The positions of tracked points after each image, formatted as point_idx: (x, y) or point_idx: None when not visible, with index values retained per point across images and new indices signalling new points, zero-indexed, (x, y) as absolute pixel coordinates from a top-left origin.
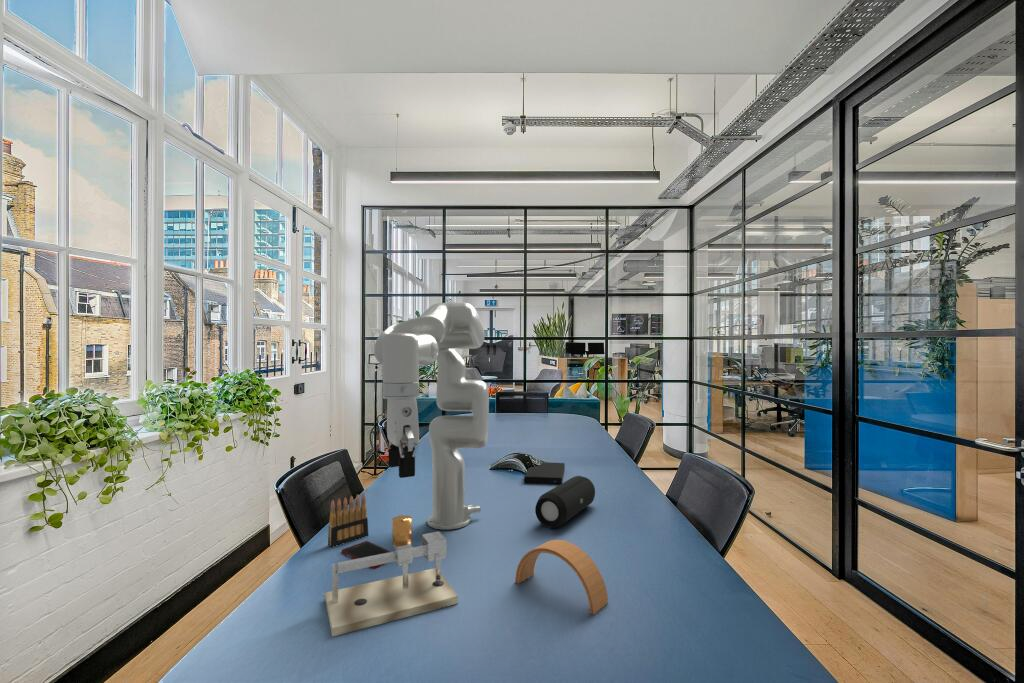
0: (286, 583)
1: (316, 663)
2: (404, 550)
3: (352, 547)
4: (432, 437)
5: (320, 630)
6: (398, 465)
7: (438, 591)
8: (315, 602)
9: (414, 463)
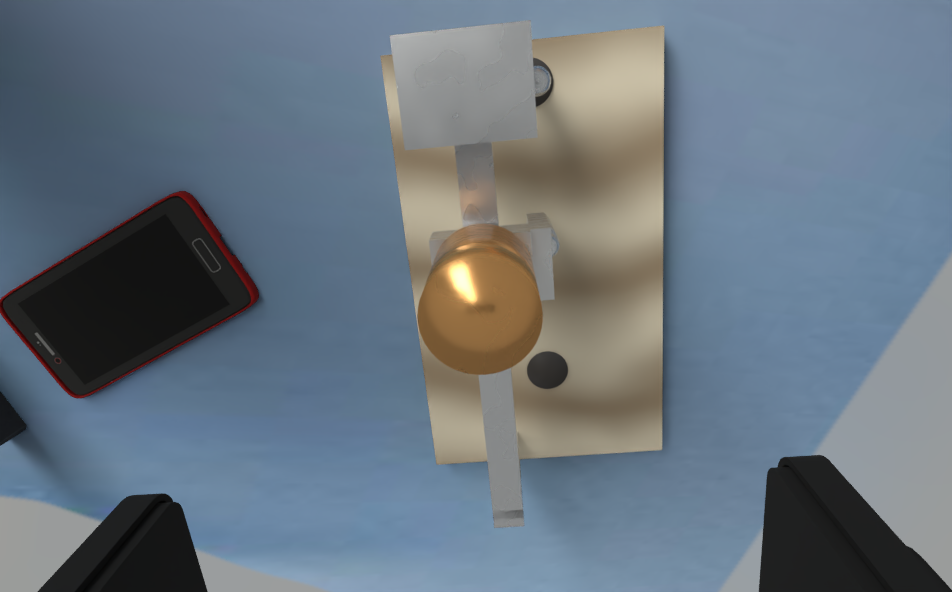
0: (289, 546)
1: (757, 471)
2: (552, 266)
3: (54, 360)
4: None
5: (608, 462)
6: (188, 554)
7: (592, 96)
8: (443, 474)
9: (936, 590)
